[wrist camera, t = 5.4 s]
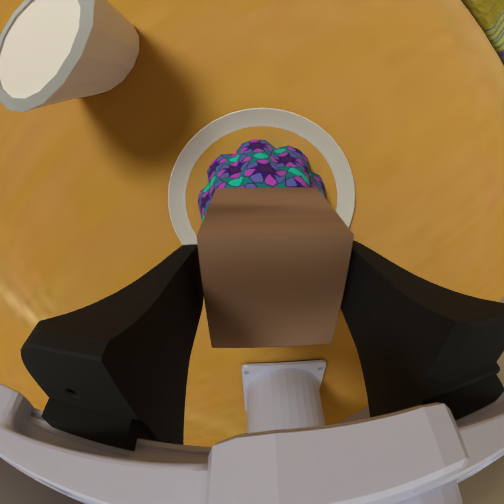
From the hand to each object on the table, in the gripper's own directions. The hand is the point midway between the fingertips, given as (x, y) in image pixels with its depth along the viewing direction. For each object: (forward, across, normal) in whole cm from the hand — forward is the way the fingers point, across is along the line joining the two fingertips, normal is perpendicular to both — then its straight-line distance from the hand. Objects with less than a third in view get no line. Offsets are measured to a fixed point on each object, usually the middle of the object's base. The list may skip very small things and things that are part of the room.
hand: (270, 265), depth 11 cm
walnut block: (+3, 0, 0) cm, 3 cm away
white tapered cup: (+8, +10, -11) cm, 17 cm away
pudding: (+8, 0, 0) cm, 8 cm away
